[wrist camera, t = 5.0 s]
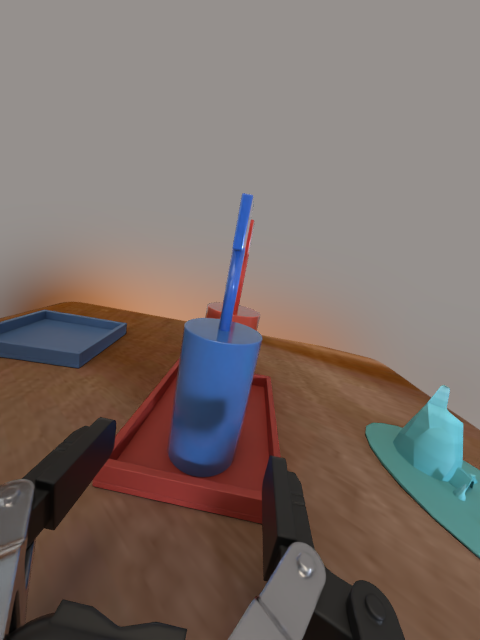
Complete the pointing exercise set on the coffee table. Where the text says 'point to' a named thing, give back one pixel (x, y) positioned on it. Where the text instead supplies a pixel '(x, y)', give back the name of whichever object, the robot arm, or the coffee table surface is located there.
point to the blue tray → (57, 337)
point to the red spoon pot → (238, 296)
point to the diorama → (433, 467)
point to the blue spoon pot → (214, 377)
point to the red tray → (180, 488)
